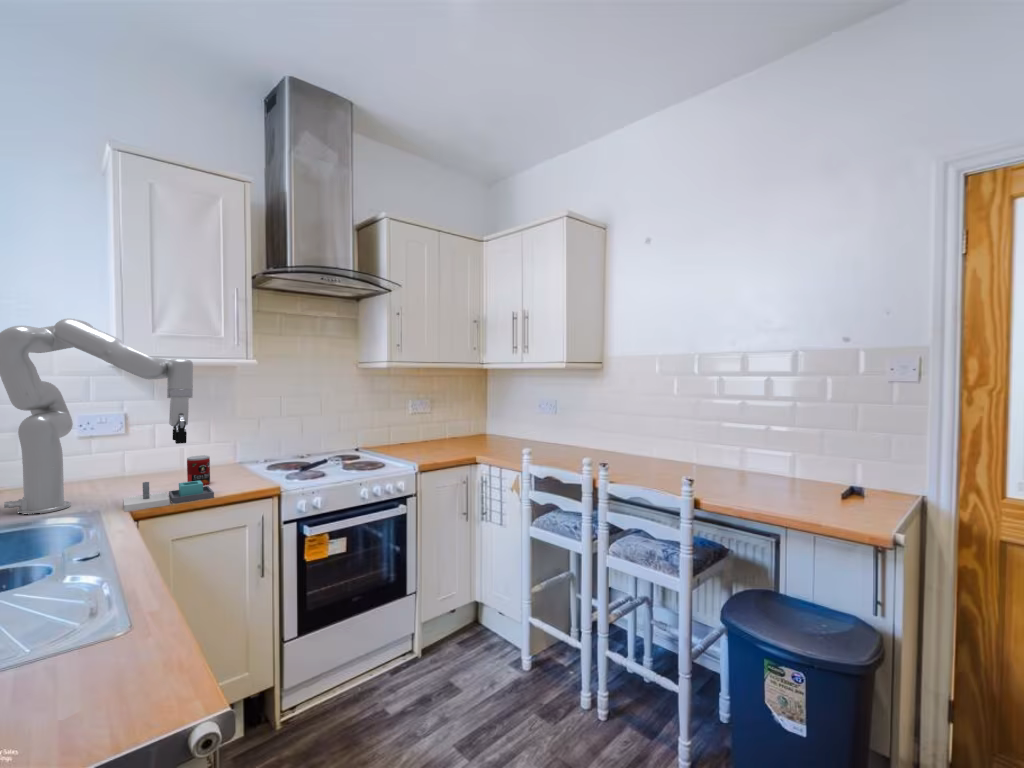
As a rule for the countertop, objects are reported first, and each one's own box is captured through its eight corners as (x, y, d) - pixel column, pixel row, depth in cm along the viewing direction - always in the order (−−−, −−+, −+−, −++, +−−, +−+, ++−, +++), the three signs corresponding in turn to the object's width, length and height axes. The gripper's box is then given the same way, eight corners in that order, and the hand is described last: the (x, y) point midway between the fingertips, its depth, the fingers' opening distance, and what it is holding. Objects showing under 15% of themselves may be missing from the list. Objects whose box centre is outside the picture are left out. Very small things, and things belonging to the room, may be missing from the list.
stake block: (124, 511, 157) (123, 488, 157) (123, 503, 167) (122, 481, 166) (169, 504, 165) (169, 482, 165) (166, 497, 174) (165, 476, 174)
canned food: (192, 487, 189) (191, 459, 188) (184, 484, 194) (183, 457, 193) (213, 484, 195) (213, 456, 194) (205, 481, 200) (204, 454, 199)
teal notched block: (181, 499, 170) (180, 486, 170) (178, 495, 175) (178, 483, 175) (203, 496, 174) (203, 483, 174) (200, 492, 180) (200, 480, 179)
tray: (172, 503, 166) (172, 498, 166) (168, 496, 176) (168, 491, 176) (214, 497, 174) (213, 492, 174) (208, 491, 184) (208, 485, 183)
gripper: (165, 392, 178) (164, 439, 178) (169, 395, 165) (168, 445, 165) (189, 392, 183) (188, 438, 183) (195, 395, 170) (194, 444, 170)
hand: (179, 441), depth 174 cm, fingers open, 9 cm apart
